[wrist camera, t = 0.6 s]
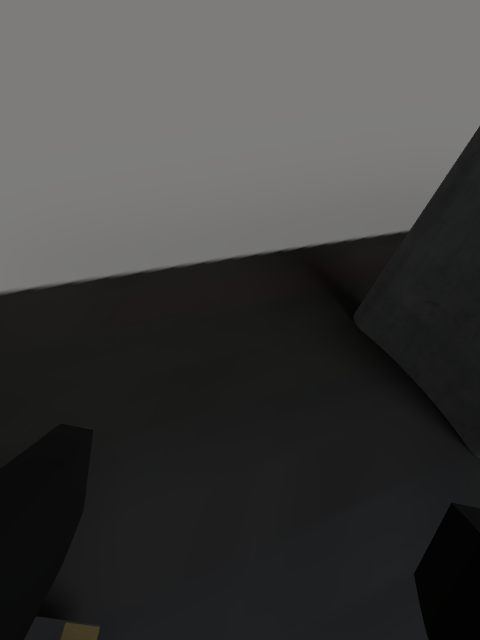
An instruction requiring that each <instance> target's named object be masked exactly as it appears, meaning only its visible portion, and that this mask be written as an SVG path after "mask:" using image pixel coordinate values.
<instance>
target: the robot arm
mask: <svg viewBox="0 0 480 640" xmlns="http://www.w3.org/2000/svg"><path fill="white" fill-rule="evenodd" d="M92 435H93V430H89V429H84V428H80V427H75V426H70V425H65V424H60V425H59V426H57V427H55V428H54V429H52V430H51V431H50V432H49V433H47V434H46V435H45V436H43V437H42V438H41V439H39V440H38V441H37V442H36V443H34V444H33V445H32V446H30V447H29V448H28V449H26V450H25V451H24V452H22V453H21V454H20V455H18V456H17V457H16V458H14V459H13V460H12V461H10V462H9V463H8V464H6V465H5V466H4V467H2V468H1V469H0V640H24V639H25V637H26V635H27V633H28V631H29V629H30V627H31V625H32V623H33V621H34V619H35V617H36V615H37V614H38V612H39V610H40V608H41V606H42V604H43V602H44V600H45V598H46V596H47V594H48V592H49V590H50V588H51V586H52V584H53V582H54V580H55V578H56V576H57V574H58V572H59V570H60V568H61V566H62V564H63V562H64V559H65V557H66V554H67V552H68V549H69V547H70V544H71V542H72V539H73V536H74V534H75V531H76V529H77V526H78V523H79V521H80V518H81V515H82V513H83V509H84V501H85V493H86V485H87V476H88V468H89V460H90V452H91V443H92ZM414 577H415V582H416V587H417V592H418V597H419V602H420V607H421V611H422V616H423V620H424V624H425V629H426V632H427V636H428V639H429V640H480V508H475V507H470V506H465V505H460V504H455V503H451V505H450V507H449V508H448V510H447V512H446V514H445V516H444V518H443V520H442V522H441V524H440V526H439V527H438V529H437V531H436V533H435V535H434V537H433V539H432V541H431V543H430V545H429V547H428V548H427V550H426V552H425V554H424V556H423V558H422V560H421V562H420V564H419V566H418V567H417V569H416V571H415V573H414Z"/></svg>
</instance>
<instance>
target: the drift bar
mask: <svg viewBox="0 0 480 640" xmlns="http://www.w3.org/2000/svg"><path fill="white" fill-rule="evenodd" d="M99 629H100V625H96V624H89V623H81V622H74V621H67V620H59V619H52V618H45V617H37V616H36V617H35V619H34V621H33V623H32V625H31V627H30V629H29V631H28V633H27V635H26V637H25V639H24V640H97V638H98V634H99Z"/></svg>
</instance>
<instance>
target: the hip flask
mask: <svg viewBox="0 0 480 640" xmlns="http://www.w3.org/2000/svg"><path fill="white" fill-rule="evenodd" d="M353 318H354V322H355V324H356V326H357V327H358V328H359V329H360V330H361V331H362V332H363V333H365V334H366V335H367V336H368V337H369V338H371V339H372V340H373V341H374V342H375V343H376V344H378V345H379V346H380V347H381V348H382V349H383V350H384V351H385V352H386V353H387V354H388V355H389V356H390V357H391V358H392V359H393V360H394V361H396V362H397V363H398V364H399V365H400V367H401V368H402V369H403V370H404V371H405V372H406V373H407V374H408V375H409V376H410V377H411V378H412V379H413V380H414V381H415V382H416V384H417V385H418V386H419V387H420V388H421V389H422V390H423V391H424V392H425V393H426V395H427V396H428V397H429V398H430V399H431V400H432V402H433V403H434V404H435V405H436V406H437V408H438V409H439V410H440V411H441V412H442V414H443V415H444V416H445V417H446V419H447V420H448V421H449V422H450V424H451V425H452V426H453V428H454V429H455V430H456V432H457V433H458V434H459V436H460V437H461V439H462V440H463V441H464V443H465V444H466V446H467V447H468V449H469V450H470V451H471V452H472V453H473V454H474V455H475V456H476V457H477V458H478V459H480V126H479V128H478V130H477V131H476V132H475V134H474V136H473V137H472V138H471V140H470V142H469V143H468V144H467V146H466V147H465V149H464V150H463V152H462V154H461V155H460V156H459V158H458V159H457V161H456V162H455V164H454V165H453V167H452V168H451V170H450V171H449V173H448V174H447V176H446V177H445V179H444V180H443V182H442V183H441V185H440V186H439V188H438V189H437V191H436V192H435V194H434V195H433V197H432V198H431V200H430V201H429V203H428V204H427V206H426V207H425V209H424V210H423V212H422V213H421V215H420V216H419V218H418V219H417V221H416V222H415V224H414V225H413V227H412V228H411V230H410V231H409V233H408V234H407V236H406V237H405V239H404V240H403V242H402V243H401V245H400V246H399V248H398V249H397V251H396V252H395V254H394V255H393V257H392V258H391V260H390V261H389V262H388V264H387V265H386V267H385V268H384V270H383V271H382V273H381V274H380V276H379V277H378V279H377V280H376V282H375V283H374V285H373V286H372V288H371V289H370V291H369V292H368V294H367V295H366V297H365V298H364V300H363V301H362V303H361V304H360V306H359V307H358V309H357V310H356V312H355V313H354V317H353Z"/></svg>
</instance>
